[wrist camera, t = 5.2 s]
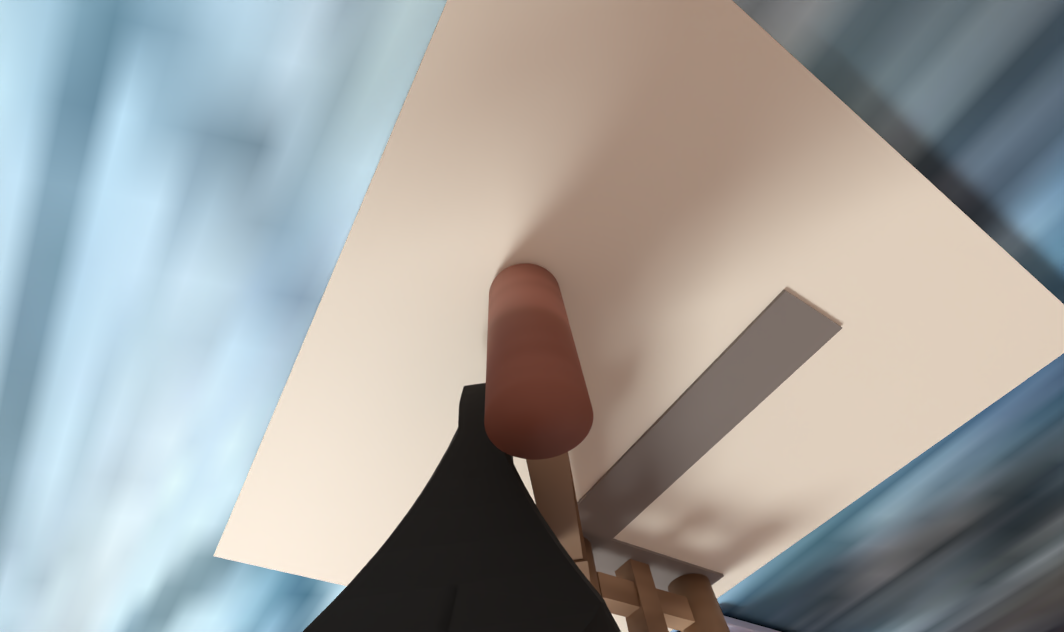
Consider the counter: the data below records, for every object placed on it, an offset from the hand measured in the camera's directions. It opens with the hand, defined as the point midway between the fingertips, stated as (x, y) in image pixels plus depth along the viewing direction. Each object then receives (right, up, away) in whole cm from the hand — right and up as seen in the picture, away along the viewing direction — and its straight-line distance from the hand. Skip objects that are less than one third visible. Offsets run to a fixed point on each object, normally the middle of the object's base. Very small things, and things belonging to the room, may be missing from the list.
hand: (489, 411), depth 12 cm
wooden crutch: (+2, -1, +1) cm, 2 cm away
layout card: (+4, -2, +3) cm, 5 cm away
